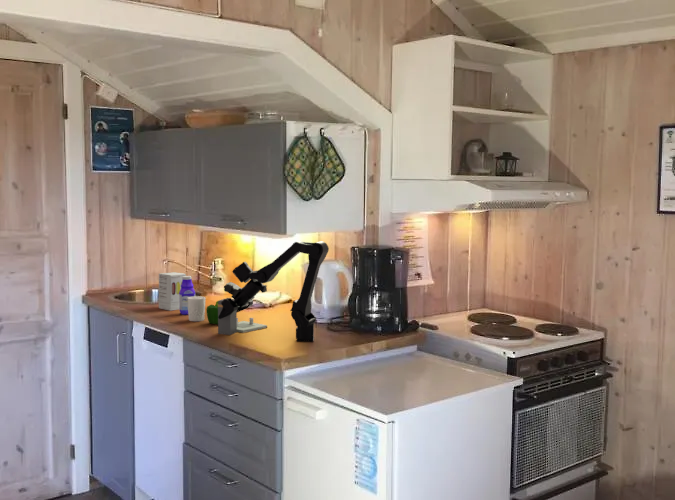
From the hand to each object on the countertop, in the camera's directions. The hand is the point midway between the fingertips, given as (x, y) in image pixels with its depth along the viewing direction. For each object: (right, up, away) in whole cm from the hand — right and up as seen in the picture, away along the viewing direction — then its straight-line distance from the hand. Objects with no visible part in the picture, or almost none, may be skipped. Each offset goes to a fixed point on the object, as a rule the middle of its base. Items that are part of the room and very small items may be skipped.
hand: (224, 316), depth 301 cm
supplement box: (-33, -1, +53) cm, 62 cm away
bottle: (-23, -3, +40) cm, 46 cm away
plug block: (+1, -7, 0) cm, 7 cm away
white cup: (-16, -4, +26) cm, 31 cm away
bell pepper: (-6, -5, +19) cm, 20 cm away
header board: (+6, -6, +11) cm, 14 cm away
